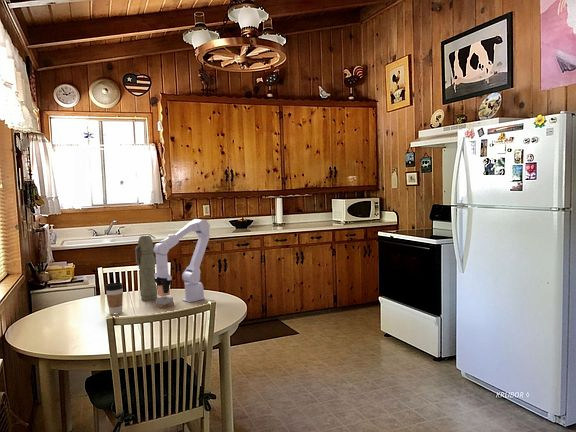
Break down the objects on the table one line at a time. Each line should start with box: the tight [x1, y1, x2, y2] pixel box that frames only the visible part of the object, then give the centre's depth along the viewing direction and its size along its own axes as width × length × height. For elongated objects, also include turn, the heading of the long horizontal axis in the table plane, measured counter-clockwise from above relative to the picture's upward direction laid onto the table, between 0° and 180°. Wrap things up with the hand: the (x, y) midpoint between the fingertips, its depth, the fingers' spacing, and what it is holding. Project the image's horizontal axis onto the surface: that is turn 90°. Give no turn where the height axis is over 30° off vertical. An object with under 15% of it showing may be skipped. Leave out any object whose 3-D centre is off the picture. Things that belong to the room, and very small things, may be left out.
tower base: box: [154, 301, 175, 310], centre depth 239 cm, size 7×7×2 cm
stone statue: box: [134, 235, 158, 302], centre depth 254 cm, size 9×12×35 cm
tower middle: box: [155, 295, 174, 305], centre depth 238 cm, size 6×6×2 cm
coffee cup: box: [104, 282, 124, 315], centre depth 230 cm, size 8×8×15 cm
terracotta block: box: [157, 285, 171, 297], centre depth 238 cm, size 4×4×5 cm
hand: (163, 292), depth 238 cm, fingers closed on terracotta block, 4 cm apart
